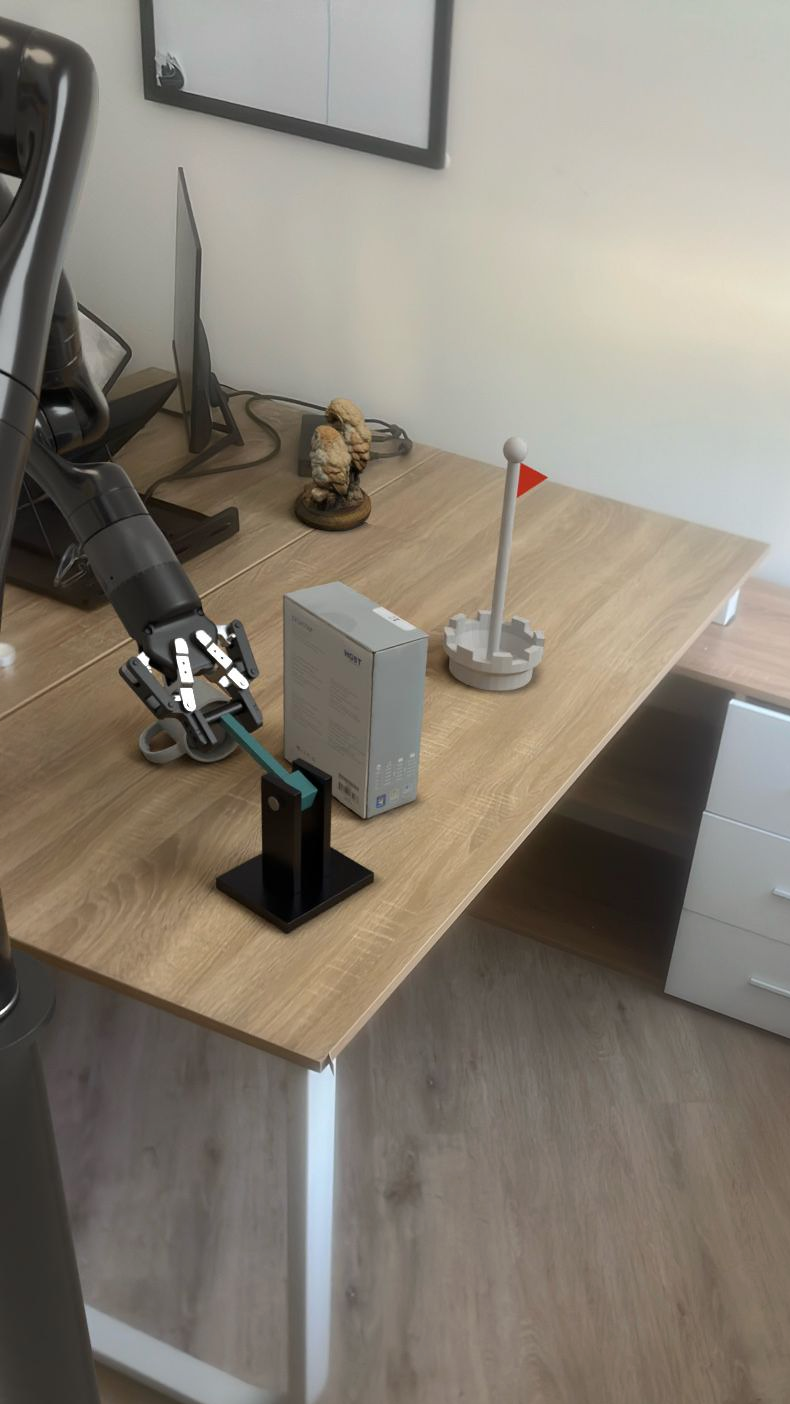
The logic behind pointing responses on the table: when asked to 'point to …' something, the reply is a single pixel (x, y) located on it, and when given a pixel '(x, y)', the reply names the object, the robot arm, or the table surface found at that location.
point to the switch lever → (258, 749)
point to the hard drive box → (353, 695)
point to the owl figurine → (337, 471)
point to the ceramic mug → (204, 701)
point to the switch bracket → (295, 856)
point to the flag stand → (498, 606)
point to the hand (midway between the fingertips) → (234, 738)
